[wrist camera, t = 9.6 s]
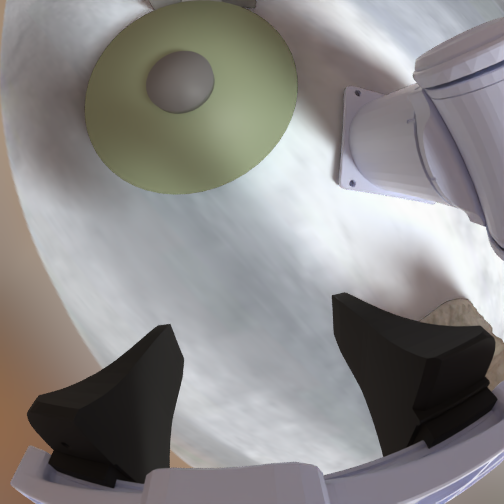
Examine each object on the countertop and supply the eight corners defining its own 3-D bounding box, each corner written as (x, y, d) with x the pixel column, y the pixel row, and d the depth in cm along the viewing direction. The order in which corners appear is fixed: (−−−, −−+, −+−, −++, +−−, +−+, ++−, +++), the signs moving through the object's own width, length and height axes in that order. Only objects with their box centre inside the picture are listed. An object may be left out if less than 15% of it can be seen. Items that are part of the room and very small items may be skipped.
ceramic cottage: (366, 344, 23) (444, 468, 9) (480, 275, 23) (568, 341, 9) (374, 417, 29) (415, 502, 15) (465, 361, 28) (519, 423, 14)
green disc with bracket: (294, -55, 12) (301, -79, 8) (282, 195, 19) (292, 202, 15) (149, -51, 11) (138, -72, 7) (99, 190, 18) (71, 196, 15)
